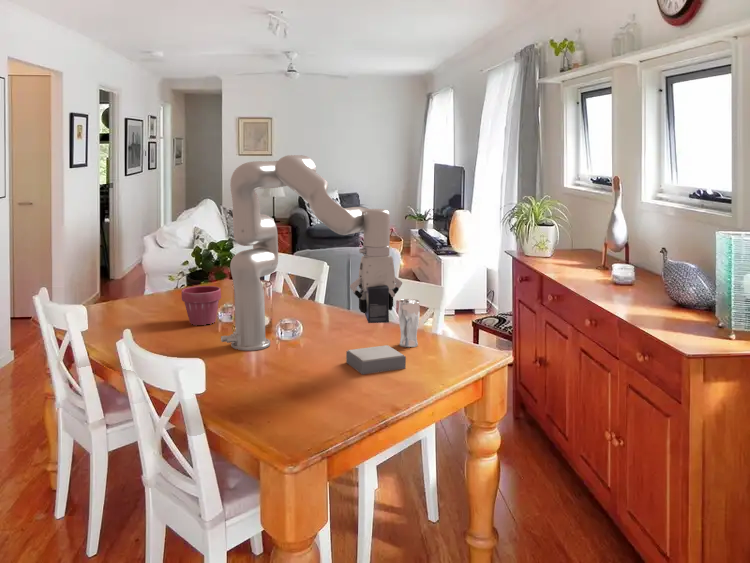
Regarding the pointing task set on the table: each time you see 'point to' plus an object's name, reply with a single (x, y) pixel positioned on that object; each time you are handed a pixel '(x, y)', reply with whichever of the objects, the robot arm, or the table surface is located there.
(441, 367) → the table surface
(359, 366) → the block
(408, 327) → the beer glass
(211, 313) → the plant pot
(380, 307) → the small box
